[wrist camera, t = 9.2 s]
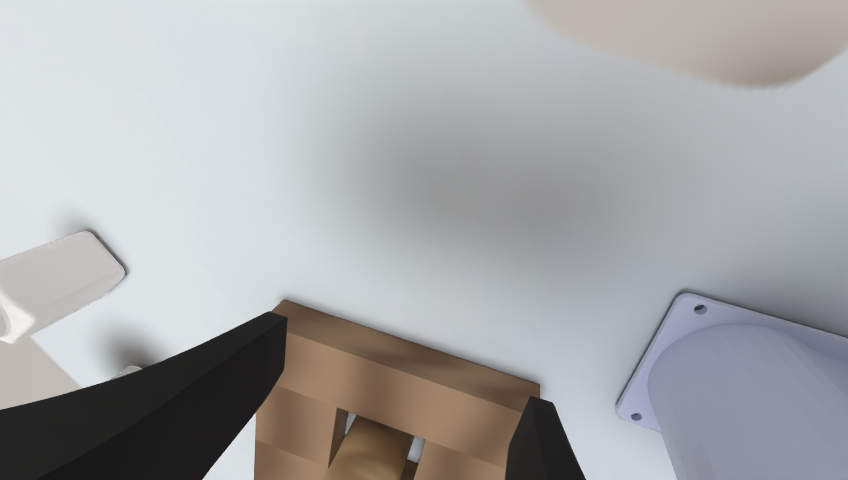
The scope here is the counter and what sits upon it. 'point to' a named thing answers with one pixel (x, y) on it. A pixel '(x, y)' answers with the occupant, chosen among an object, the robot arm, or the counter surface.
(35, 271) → the salt shaker
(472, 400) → the socket board
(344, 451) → the peg
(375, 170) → the counter surface
